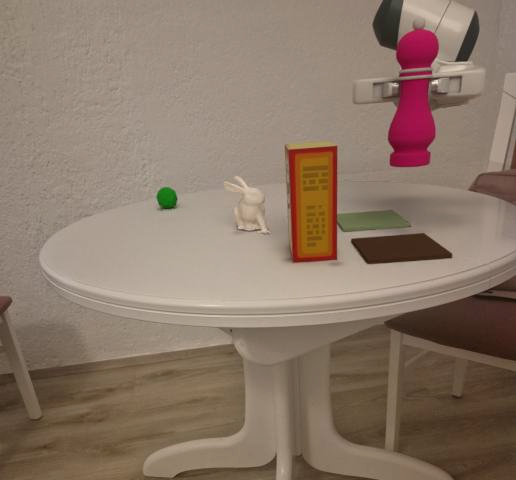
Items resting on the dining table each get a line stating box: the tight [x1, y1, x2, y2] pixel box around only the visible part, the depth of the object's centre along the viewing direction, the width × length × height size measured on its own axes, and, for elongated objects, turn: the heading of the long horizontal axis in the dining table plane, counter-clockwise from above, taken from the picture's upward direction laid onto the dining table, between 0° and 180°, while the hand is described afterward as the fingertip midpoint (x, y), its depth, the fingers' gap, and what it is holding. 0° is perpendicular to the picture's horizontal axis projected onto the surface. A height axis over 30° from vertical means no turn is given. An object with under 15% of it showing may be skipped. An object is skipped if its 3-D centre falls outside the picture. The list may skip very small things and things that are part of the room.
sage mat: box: [337, 209, 412, 233], centre depth 90 cm, size 12×12×1 cm
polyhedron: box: [156, 186, 179, 210], centre depth 116 cm, size 5×5×5 cm
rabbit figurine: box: [222, 175, 270, 235], centre depth 90 cm, size 12×8×10 cm, turn 5°
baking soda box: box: [284, 140, 338, 264], centre depth 72 cm, size 10×6×16 cm
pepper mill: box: [387, 17, 439, 168], centre depth 73 cm, size 7×7×20 cm
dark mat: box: [350, 232, 453, 265], centre depth 73 cm, size 12×12×1 cm
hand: (414, 87), depth 72 cm, fingers closed on pepper mill, 5 cm apart
